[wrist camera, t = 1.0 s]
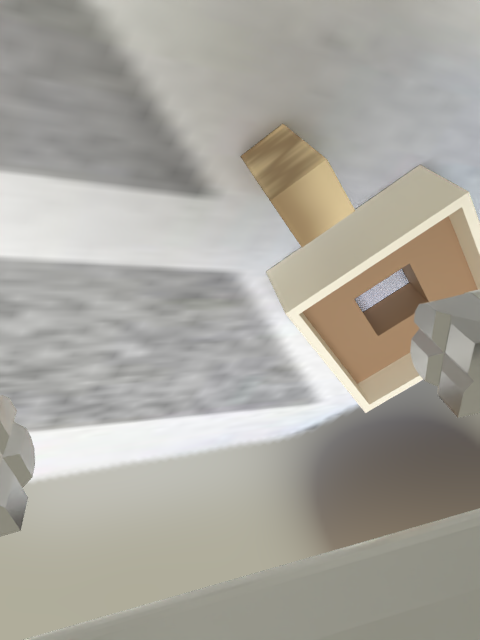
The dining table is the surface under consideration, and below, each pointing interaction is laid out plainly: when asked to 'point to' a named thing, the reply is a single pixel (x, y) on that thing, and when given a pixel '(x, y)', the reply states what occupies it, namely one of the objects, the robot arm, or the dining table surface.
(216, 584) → the robot arm
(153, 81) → the dining table surface
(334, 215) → the peg
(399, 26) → the dining table surface
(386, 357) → the bore box
